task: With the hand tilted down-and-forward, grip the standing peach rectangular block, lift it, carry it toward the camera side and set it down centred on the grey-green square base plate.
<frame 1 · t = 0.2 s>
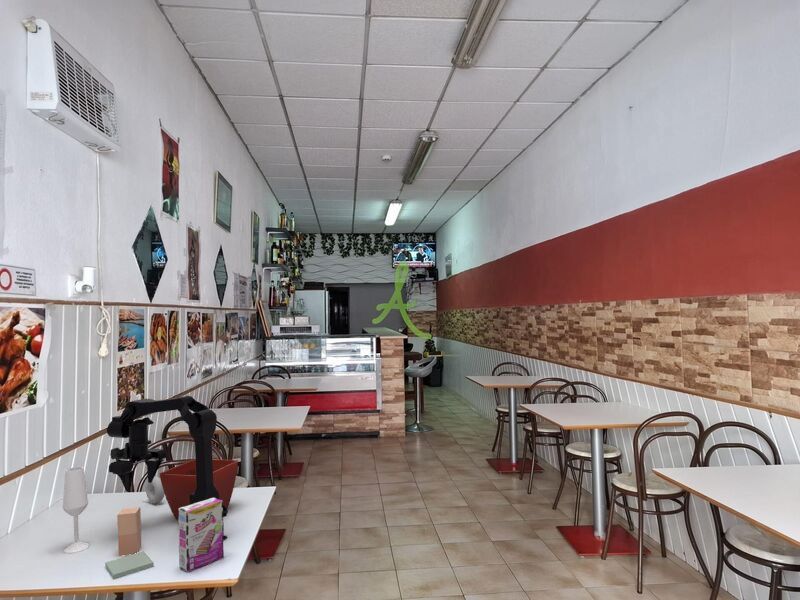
hand: (139, 487, 172), 15 cm above the table, tool pointing down, fingers open, 9 cm apart
champagne flute: (76, 548, 163), on the table
plant pot: (201, 515, 187), on the table
base plate: (129, 566, 148), on the table
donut: (155, 503, 201), on the table
candy bar box: (202, 563, 149), on the table
peach rectangular block: (130, 551, 159), on the table
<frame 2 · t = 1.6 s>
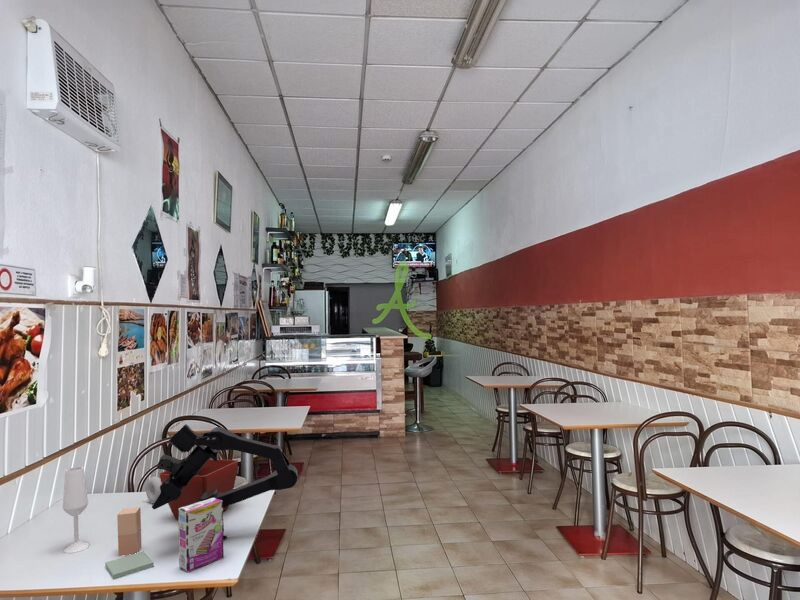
hand: (156, 503, 161), 13 cm above the table, tool tilted 45°, fingers open, 9 cm apart
nothing on the table moved.
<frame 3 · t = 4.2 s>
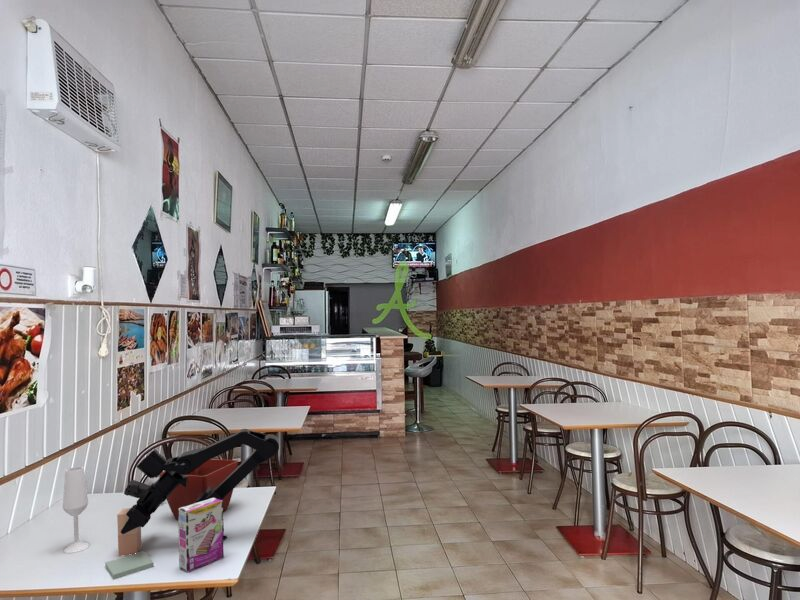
hand: (124, 529, 159), 7 cm above the table, tool tilted 45°, fingers closed on peach rectangular block, 5 cm apart
peach rectangular block: (130, 551, 159), on the table, touching gripper
everything else where it was.
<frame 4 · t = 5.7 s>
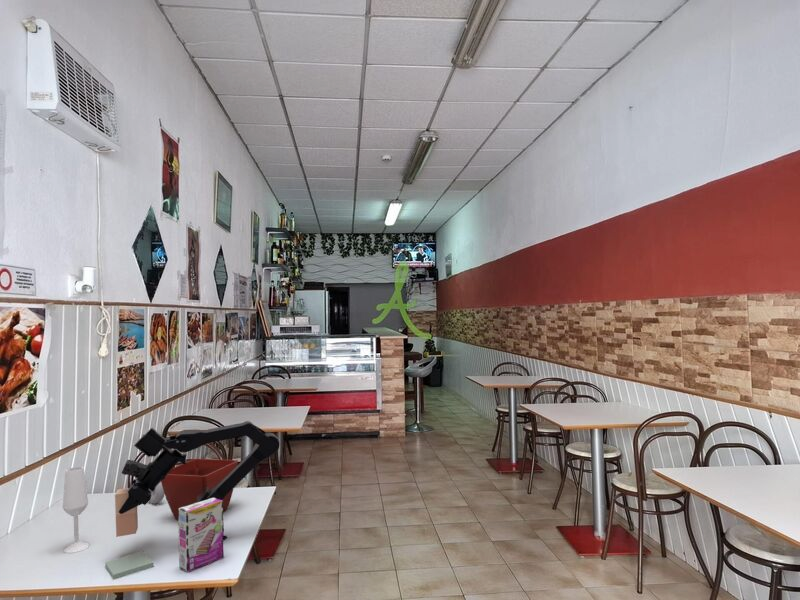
hand: (121, 510, 156), 13 cm above the table, tool tilted 45°, fingers closed on peach rectangular block, 5 cm apart
peach rectangular block: (127, 532, 156), point 7 cm above the table, touching gripper
everything else where it was.
when the fingers open (9 cm above the table, at t = 7.5 s): peach rectangular block drops 1 cm, resting on base plate.
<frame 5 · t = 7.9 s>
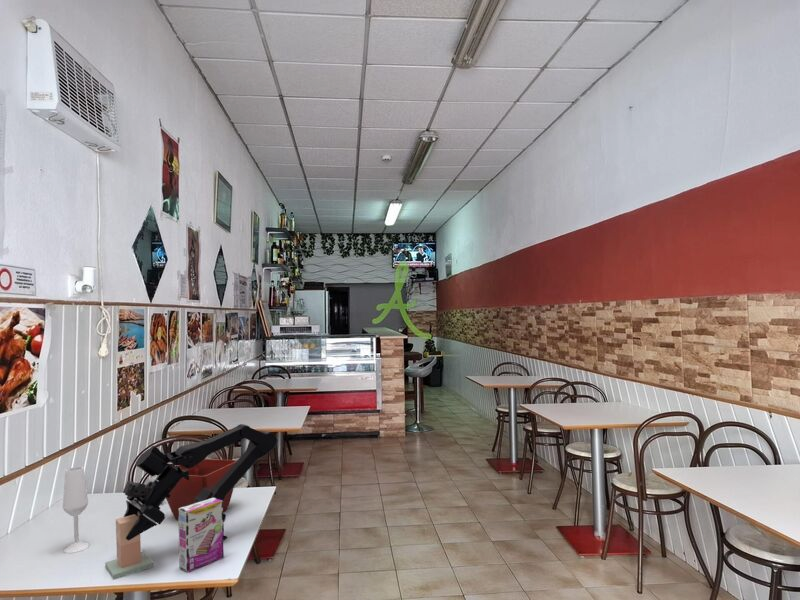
hand: (122, 534, 148), 9 cm above the table, tool tilted 45°, fingers open, 9 cm apart
peach rectangular block: (129, 562, 148), point 1 cm above the table, touching base plate
everything else where it was.
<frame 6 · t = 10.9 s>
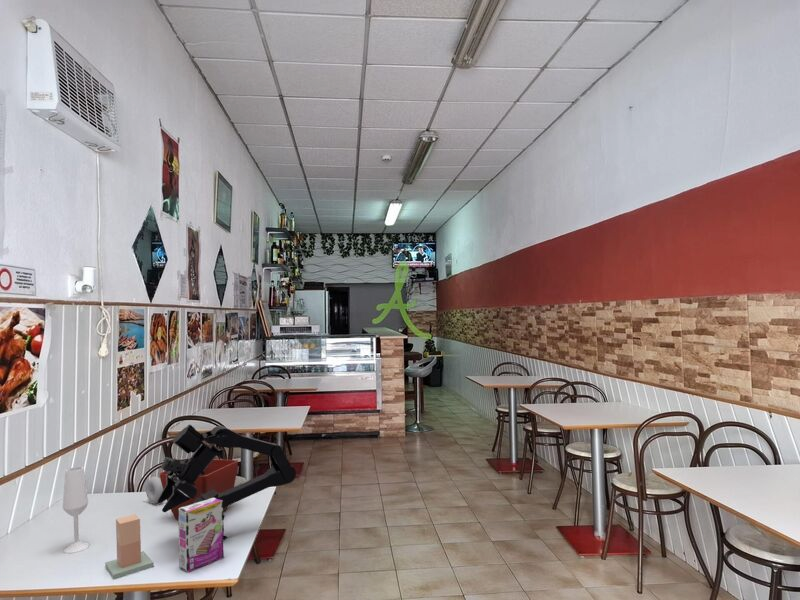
hand: (160, 507, 156), 14 cm above the table, tool tilted 45°, fingers open, 9 cm apart
nothing on the table moved.
at the end: peach rectangular block inside the target area on the base plate (0.0 cm from its centre), point 1.2 cm above the base plate's base; peach rectangular block tilted 0°; the gripper is holding nothing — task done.
